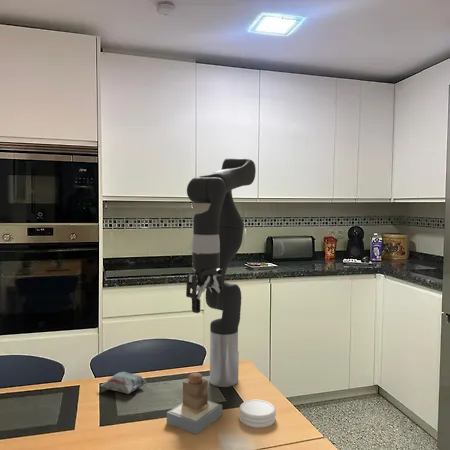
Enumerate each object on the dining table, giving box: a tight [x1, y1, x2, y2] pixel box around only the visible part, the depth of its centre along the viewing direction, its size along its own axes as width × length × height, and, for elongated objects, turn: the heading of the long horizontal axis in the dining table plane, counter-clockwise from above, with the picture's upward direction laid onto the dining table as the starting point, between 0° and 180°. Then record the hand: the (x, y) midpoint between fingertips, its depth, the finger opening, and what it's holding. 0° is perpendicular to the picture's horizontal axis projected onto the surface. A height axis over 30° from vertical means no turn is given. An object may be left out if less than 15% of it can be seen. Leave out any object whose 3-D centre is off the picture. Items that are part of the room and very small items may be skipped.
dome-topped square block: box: [182, 372, 209, 415], centre depth 116 cm, size 5×5×9 cm
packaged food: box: [100, 371, 148, 395], centre depth 134 cm, size 9×12×5 cm
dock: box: [166, 399, 223, 435], centre depth 116 cm, size 12×10×3 cm
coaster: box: [238, 399, 277, 429], centre depth 117 cm, size 10×10×4 cm
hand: (205, 309), depth 117 cm, fingers open, 8 cm apart
